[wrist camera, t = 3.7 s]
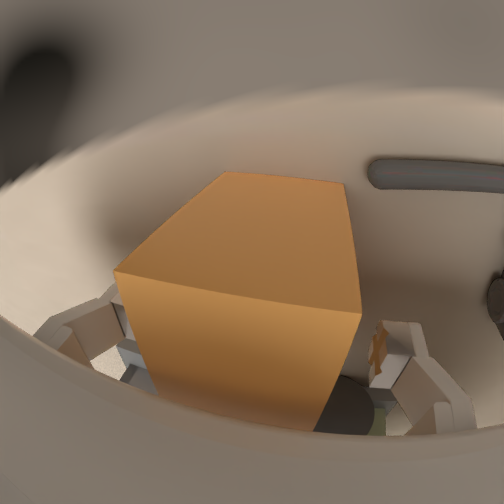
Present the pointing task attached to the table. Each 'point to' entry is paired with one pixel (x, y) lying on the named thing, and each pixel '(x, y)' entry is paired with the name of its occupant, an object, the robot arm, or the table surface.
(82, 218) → the table surface
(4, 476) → the robot arm
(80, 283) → the table surface
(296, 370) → the orange cardboard box
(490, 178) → the walkie-talkie
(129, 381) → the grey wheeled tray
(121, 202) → the table surface
